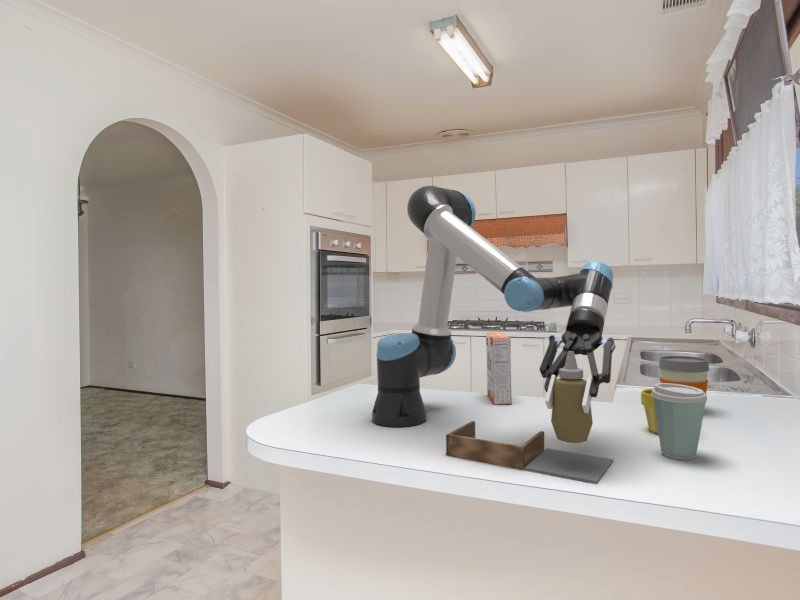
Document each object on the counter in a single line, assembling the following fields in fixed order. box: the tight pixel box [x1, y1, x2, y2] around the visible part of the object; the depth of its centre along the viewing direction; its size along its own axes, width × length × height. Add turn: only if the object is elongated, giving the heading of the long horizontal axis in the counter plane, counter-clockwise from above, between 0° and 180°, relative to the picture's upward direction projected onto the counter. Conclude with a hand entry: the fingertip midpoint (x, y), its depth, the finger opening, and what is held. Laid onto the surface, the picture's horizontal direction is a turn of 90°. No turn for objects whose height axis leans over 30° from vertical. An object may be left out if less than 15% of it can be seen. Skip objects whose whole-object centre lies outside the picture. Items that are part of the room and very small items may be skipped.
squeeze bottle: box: [550, 351, 594, 444], centre depth 105 cm, size 8×8×18 cm
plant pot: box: [640, 388, 659, 435], centre depth 129 cm, size 10×10×10 cm
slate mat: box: [523, 448, 614, 485], centre depth 106 cm, size 14×14×1 cm
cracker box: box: [485, 332, 513, 405], centre depth 166 cm, size 14×6×21 cm, turn 178°
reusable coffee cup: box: [658, 355, 710, 395], centre depth 147 cm, size 13×13×15 cm
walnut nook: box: [445, 420, 545, 471], centre depth 115 cm, size 18×13×4 cm
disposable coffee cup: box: [651, 382, 708, 461], centre depth 111 cm, size 11×11×15 cm
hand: (566, 407), depth 103 cm, fingers closed on squeeze bottle, 6 cm apart
